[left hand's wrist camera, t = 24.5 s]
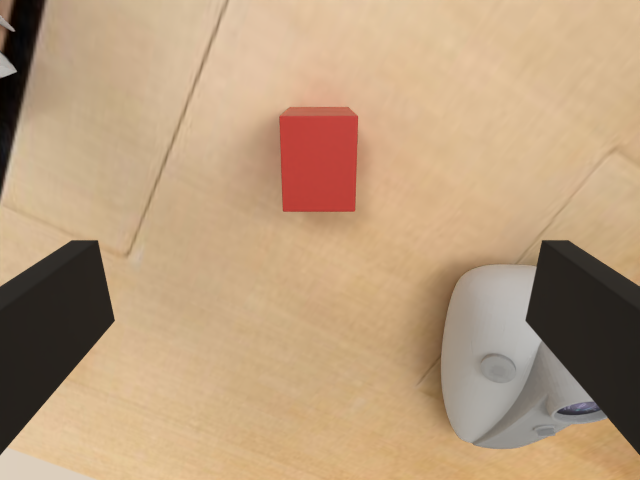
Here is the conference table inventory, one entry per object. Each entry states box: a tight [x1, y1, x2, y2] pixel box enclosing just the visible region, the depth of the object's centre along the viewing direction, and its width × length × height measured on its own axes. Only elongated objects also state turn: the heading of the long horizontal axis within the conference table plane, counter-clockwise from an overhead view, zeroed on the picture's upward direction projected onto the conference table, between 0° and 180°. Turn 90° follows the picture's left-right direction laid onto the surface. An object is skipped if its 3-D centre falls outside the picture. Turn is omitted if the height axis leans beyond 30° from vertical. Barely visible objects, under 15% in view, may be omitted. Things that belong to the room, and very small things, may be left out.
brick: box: [280, 107, 358, 212], centre depth 34 cm, size 7×5×10 cm
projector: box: [441, 264, 608, 449], centre depth 39 cm, size 22×23×15 cm
